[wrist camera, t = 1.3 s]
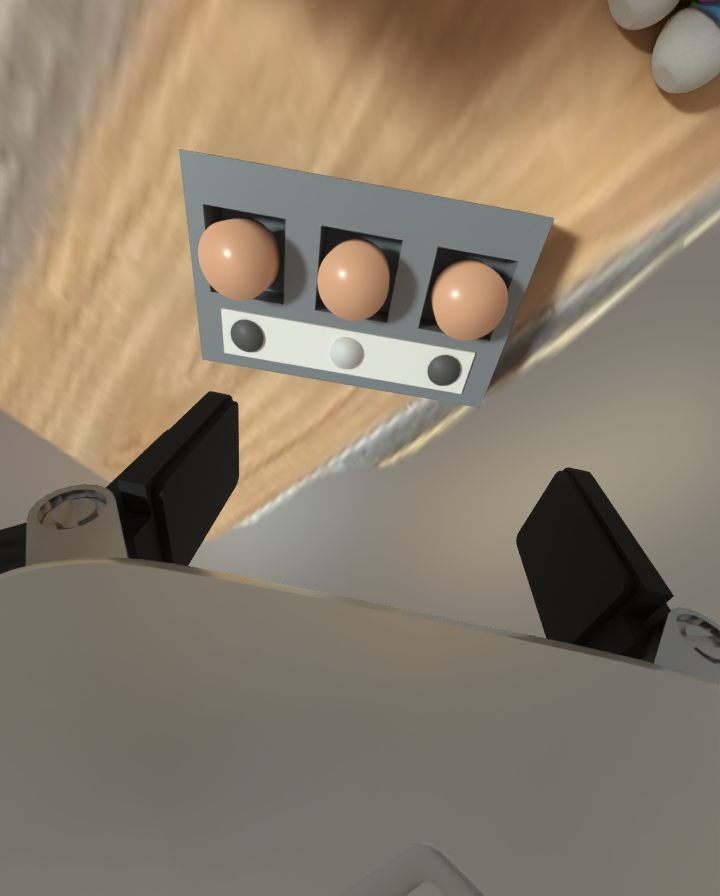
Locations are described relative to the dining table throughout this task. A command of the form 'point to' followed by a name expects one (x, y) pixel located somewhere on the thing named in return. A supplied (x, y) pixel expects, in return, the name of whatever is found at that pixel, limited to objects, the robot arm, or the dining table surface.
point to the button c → (468, 299)
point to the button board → (411, 280)
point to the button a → (239, 258)
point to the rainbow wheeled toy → (677, 40)
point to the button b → (354, 279)
